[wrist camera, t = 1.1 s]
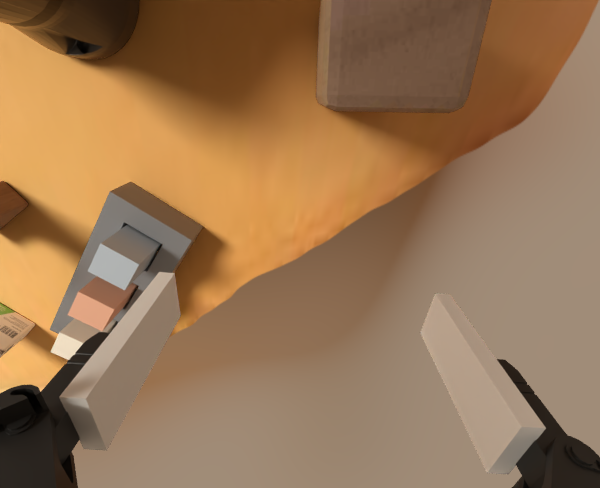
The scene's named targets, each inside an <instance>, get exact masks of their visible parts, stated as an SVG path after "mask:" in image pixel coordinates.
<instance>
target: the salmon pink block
mask: <svg viewBox="0 0 600 488" xmlns="http://www.w3.org/2000/svg"><path fill="white" fill-rule="evenodd" d="M137 286H138V285H136V284H134V283H131V285H130V286H129V287H128V288H127V289H126V290H123V289H121V288H119V287H117V286H115V285H113V284H111V283H109V282H107V281H105V280H104V279H102V278H100V277H98V276H96V277H95V278H94V279H93V280H92V281H90V282H89V283H88V284H87V285H86V286H84V287H83V288H82V289H81V290H80V291H78V293H77V295H76V298H75V300H74V302H73V304H72V306H71V308H70V311H69V313H68V315H69V316H71V317H73V318H75V319H77V320H79V321H81V322H83V323H85V324H88V325H90V326H92V327H94V328H96V329H98V330H100V331H103V330H104V329H105V328H106V327H107V325H108V324H109V323H110V322H111V321H112V320H113V319H114V318H115V316H116V315H117V314H118V313H119V312H120V311H121V310H122V309H123V307H124V306H125V305H126V304H127V303H128V302H129V300H130V299H131V297H132V295H133V293H134V292H135V290H136V288H137Z"/></svg>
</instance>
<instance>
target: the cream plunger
mask: <svg viewBox="0 0 600 488" xmlns="http://www.w3.org/2000/svg"><path fill="white" fill-rule="evenodd" d="M116 323H117V321H115V320H112V321H111V322H110V323H109V324H108V325H107V327H106V328H105V329H104V330H103V331H100V330H98V329H96V328H94V327H92V326H90V325H88V324H85V323H83V322H81V321H79V320H77V319H75V318H74V319H73V320H72V321H71V322H70V323H69V324H68V325H67V326H66V327H65V328H63V329H62V330H61V331H60V332H59V334H58V337H57V339H56V341H55V343H54V345H53V347H52V350H51V353H54V354H56V355H58V356H61V357H63V358H65V359H67V360H69V359H70V358H71V357H72V356H73V355H75V352H76V351H77V350H78V349H79V348H80V347H81V346H82V344H83V343H84V342H85V341H86V340H88V339H89V338H91V337H92V336H94V335H95V334H97V333H98V332H107V333H111V332H112V330H113V328H114V327H115V325H116Z"/></svg>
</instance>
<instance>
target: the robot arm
mask: <svg viewBox="0 0 600 488" xmlns="http://www.w3.org/2000/svg"><path fill="white" fill-rule="evenodd" d="M138 10H139V0H0V22H3V23H7V24H10V25H11V26H13V27H14V28H16V29H18V30H19V31H21V32H22V33H24V34H25V35H27V36H29V37H30V38H32V39H33V40H35V41H36V42H38V43H39V44H41V45H43V46H44V47H46V48H48V49H50V50H52V51H55V52H57V53H60V54H63V55H66V56H70V57H76V58H81V59H89V60H94V59H102V58H105V57H108V56H111V55H112V54H114V53H116V52H117V51H119V50H120V49H121V48H122V47H123V46H124V45H125V44H126V42H127V41H128V40H129V38H130V36H131V35H132V33H133V30H134V28H135V25H136V21H137V17H138ZM180 316H181V314H180V307H179V300H178V293H177V286H176V278H175V273H166V272H159V273H158V274H157V275H156V277H155V278H154V279H153V280H152V282H151V283H150V284H149V285H148V287H147V288H146V289H145V290H144V292H143V293H142V294H141V295H140V297H139V298H138V299H137V300H136V302H135V303H134V304H133V305H132V307H131V308H130V309H129V310H128V312H127V313H126V314H125V315H124V317H123V318H122V319H121V320H120V322H119V323H118V324H117V325H116V327H115V328H114V329H113V330H112V332H111V333H107V332H98V333H97V334H95V335H94V336H92V337H91V338H89V339H88V340H86V341H85V342H84V343H83V344H82V346H81V347H80V348H79V349H78V350H77V351H76V352H75V355H73V356H72V357H71V358H70V359H69V360H68V362H67V364H65V365H64V366H63V367H62V368H61V370H60V371H59V372H58V373H57V374H56V375H55V376H54V378H53V379H52V380H51V381H50V382H49V383H48V384H47V386H46V387H45V388H44V389H43V390H42V391H41V392H40V390H39V388H38V387H36V386H33V385H20V386H17V387H13V388H10V389H8V390H6V391H4V392H2V393H0V488H78V486H77V478H76V471H75V464H74V456H73V454H72V450H73V448H74V447H75V445H76V444H77V442H78V441H79V440H80V441H81V444H82V446H83V448H84V449H93V450H107V449H108V448H109V445H110V444H111V442H112V440H113V438H114V436H115V435H116V433H117V431H118V429H119V427H120V426H121V424H122V422H123V420H124V418H125V417H126V415H127V413H128V411H129V409H130V407H131V406H132V404H133V402H134V400H135V398H136V396H137V395H138V393H139V391H140V389H141V387H142V386H143V383H144V382H145V380H146V378H147V376H148V374H149V372H150V371H151V369H152V367H153V365H154V364H155V362H156V360H157V358H158V356H159V355H160V353H161V351H162V349H163V347H164V345H165V343H166V342H167V340H168V338H169V336H170V334H171V333H172V331H173V329H174V327H175V325H176V324H177V322H178V320H179V318H180ZM420 333H421V336H422V338H423V340H424V342H425V344H426V346H427V348H428V350H429V352H430V354H431V357H432V359H433V361H434V363H435V365H436V367H437V369H438V371H439V373H440V375H441V378H442V380H443V382H444V384H445V386H446V388H447V390H448V392H449V394H450V396H451V398H452V400H453V403H454V405H455V407H456V409H457V411H458V413H459V415H460V417H461V419H462V421H463V424H464V425H465V428H466V430H467V432H468V434H469V436H470V438H471V440H472V442H473V444H474V447H475V449H476V451H477V452H478V455H479V457H480V459H481V461H482V463H483V465H484V467H485V470H486V472H487V473H496V474H509V473H510V472H511V471H512V469H513V468H514V467H515V466H516V465H517V467H518V469H519V471H520V473H521V474H522V477H521V478H520V479H519V481H517V483H516V484H515V485H514V486H513V487H512V488H600V457H599V456H598V455H597V454H596V453H595V452H594V451H593V450H592V449H591V448H590V447H588V446H587V445H586V444H584V443H583V442H581V441H579V440H577V439H575V438H573V437H571V436H567V434H566V433H565V432H564V431H563V429H562V428H561V427H560V426H559V424H558V423H557V422H556V420H555V419H554V418H553V416H552V415H551V414H550V412H549V411H548V410H547V408H546V407H545V406H544V404H543V403H542V402H541V400H540V399H539V398H538V397H537V395H535V394H534V391H533V390H532V389H531V388H530V386H529V385H527V382H526V381H525V379H524V378H523V377H522V376H521V374H520V373H519V372H518V370H516V369H515V368H514V367H513V366H512V365H511V364H509V363H508V362H507V361H506V360H499V359H496V358H495V356H494V355H493V354H492V352H491V351H490V349H489V348H488V347H487V345H486V344H485V342H484V341H483V340H482V338H481V337H480V335H479V334H478V333H477V331H476V330H475V328H474V327H473V326H472V324H471V323H470V321H469V320H468V319H467V317H466V316H465V314H464V313H463V312H462V310H461V309H460V307H459V306H458V305H457V303H456V302H455V300H454V299H453V298H452V296H451V295H450V294H441V293H435V295H434V298H433V301H432V303H431V306H430V308H429V311H428V314H427V316H426V320H425V322H424V325H423V327H422V330H421V332H420Z"/></svg>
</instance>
